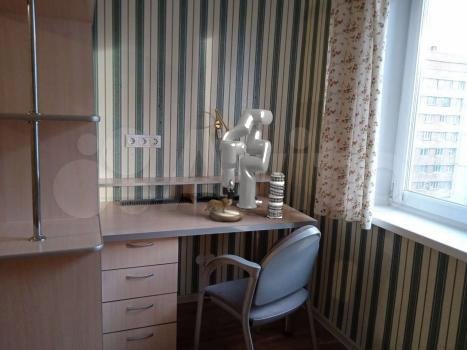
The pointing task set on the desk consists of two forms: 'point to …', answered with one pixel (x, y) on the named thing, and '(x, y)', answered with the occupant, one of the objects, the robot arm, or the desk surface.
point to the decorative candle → (275, 195)
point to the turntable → (226, 214)
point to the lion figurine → (219, 204)
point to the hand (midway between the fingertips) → (227, 196)
